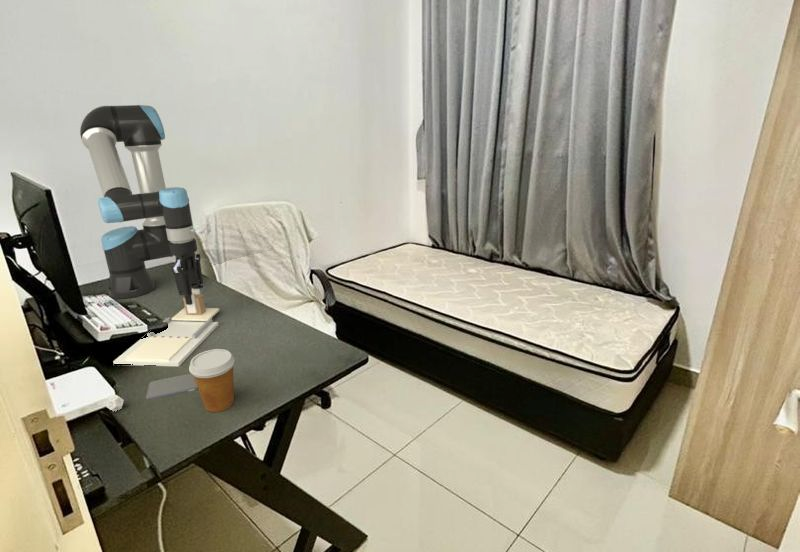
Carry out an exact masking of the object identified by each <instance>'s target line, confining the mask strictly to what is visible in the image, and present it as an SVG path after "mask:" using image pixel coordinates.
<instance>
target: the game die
mask: <svg viewBox="0 0 800 552" xmlns="http://www.w3.org/2000/svg"><path fill="white" fill-rule="evenodd" d="M124 401H125V400H124V399H123V398H122V397H120V396H119V395H118V394H115V395H112V396H109V397H108V400H107V402H108V403H107V402H106V405H107V406H105V408H107V409H109V410H110V411H111V410H112V412H114V411H115V412H118V411H119V410H120V409H121V410H122V408H123V405H124V403H125V402H124ZM117 410H118V411H117ZM115 412H114V413H115Z"/></svg>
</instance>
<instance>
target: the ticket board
mask: <svg viewBox="0 0 800 552" xmlns="http://www.w3.org/2000/svg"><path fill="white" fill-rule="evenodd" d="M162 321H163V322H167V323H168V328H167V329H166V330H164V331H162V332H160V333H157V334H155V333H154V332H150V331H149V332H150V333H149V332H147V333H146V334H147V336H148V337H146V338H143V337H142V338H143V339H141V338H140V339H139V340H137V341H136V342H135V343H134V344H132V345H131V346H130V347H129V348H127V349H126V350H125V351H124V352H123V353H122V354H121V355H119V356H118V357H117V358H115V359H114V360H113V361H112V362H113V365H114V364H131V365H130V366H144V365H156V366H155V367H181V364H182V363H184V362H185V360H186V359H187V358H188V357H190V355H191V354H193V352H194V351H195V350H196V349H197V348H198V347H199V346H200V345H201V344H202V343H203V342H204V341H206V339H207V338H208V337H209V336H210V335H211V333H213V331H214V330H216V328H217V327H218V326H219V325H220V324H219V321H213V317H212V318H209V319H208V320H207V321H183V320H172V319H171V317H166V318H165V319H164V320H162ZM132 364H133V365H132Z"/></svg>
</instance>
